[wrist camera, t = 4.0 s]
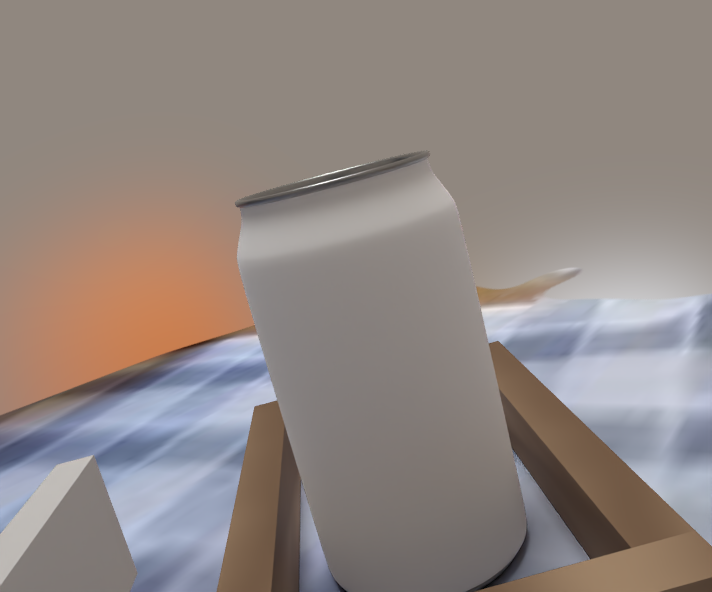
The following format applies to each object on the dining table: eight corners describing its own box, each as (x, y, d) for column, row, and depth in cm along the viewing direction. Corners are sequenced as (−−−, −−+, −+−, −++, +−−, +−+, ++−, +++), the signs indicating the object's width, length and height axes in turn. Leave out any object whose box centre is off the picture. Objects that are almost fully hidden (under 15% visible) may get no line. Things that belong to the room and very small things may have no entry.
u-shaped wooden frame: (225, 819, 14) (189, 722, 14) (269, 455, 31) (254, 406, 31) (751, 671, 14) (736, 570, 14) (508, 390, 31) (498, 341, 31)
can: (290, 595, 21) (170, 218, 18) (391, 483, 26) (309, 176, 23) (483, 638, 17) (367, 173, 15) (557, 497, 22) (480, 135, 20)
